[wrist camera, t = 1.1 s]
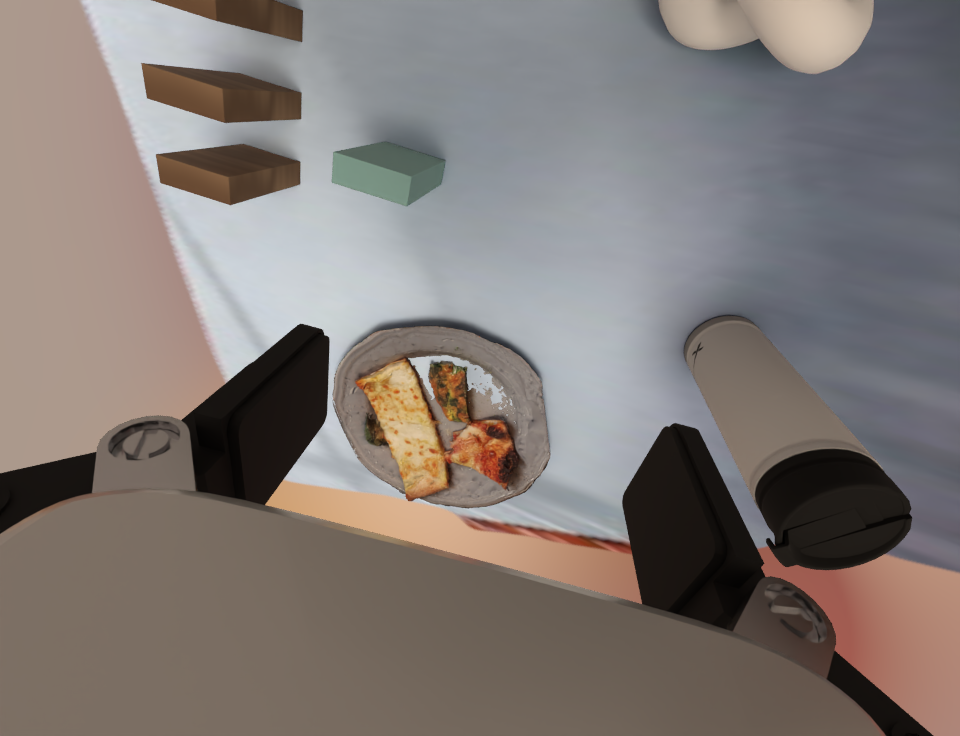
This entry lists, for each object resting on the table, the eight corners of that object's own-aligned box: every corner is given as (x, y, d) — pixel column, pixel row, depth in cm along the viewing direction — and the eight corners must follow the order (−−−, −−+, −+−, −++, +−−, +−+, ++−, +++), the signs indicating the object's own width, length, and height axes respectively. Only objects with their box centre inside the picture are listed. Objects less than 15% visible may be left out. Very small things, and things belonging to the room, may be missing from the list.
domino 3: (243, 144, 35) (155, 154, 27) (300, 161, 35) (228, 177, 27) (244, 166, 36) (160, 182, 28) (300, 184, 36) (230, 205, 28)
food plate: (557, 497, 51) (557, 521, 48) (383, 495, 56) (372, 516, 53) (535, 305, 39) (532, 321, 36) (317, 326, 44) (299, 341, 42)
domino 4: (385, 141, 33) (333, 151, 25) (445, 160, 33) (411, 176, 26) (382, 165, 34) (331, 182, 26) (441, 184, 34) (407, 206, 26)
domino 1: (234, -11, 29) (122, -51, 22) (302, 10, 29) (213, -23, 22) (236, 21, 30) (129, -7, 23) (302, 42, 30) (216, 21, 23)
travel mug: (666, 340, 38) (750, 525, 21) (742, 300, 35) (907, 479, 18) (699, 388, 40) (798, 591, 23) (772, 354, 37) (947, 558, 20)
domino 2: (239, 73, 32) (141, 63, 25) (301, 92, 32) (222, 88, 25) (240, 100, 33) (147, 98, 26) (301, 119, 33) (224, 122, 26)
